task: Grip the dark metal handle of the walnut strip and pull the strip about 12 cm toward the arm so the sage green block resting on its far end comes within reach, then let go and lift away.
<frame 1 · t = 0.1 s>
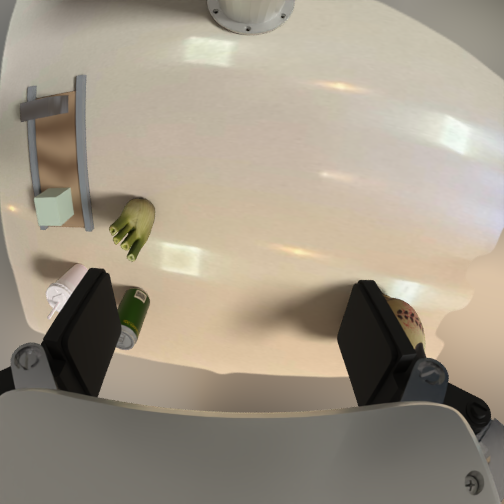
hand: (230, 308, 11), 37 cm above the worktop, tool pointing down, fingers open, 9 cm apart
beer can: (138, 296, 56), on the worktop
fennel bulb: (144, 210, 48), on the worktop
strip: (48, 167, 39), point 3 cm above the worktop, slide at 0.0 cm, touching block
ceramic jug: (375, 308, 60), on the worktop
block: (61, 201, 45), point 1 cm above the worktop, touching strip
lane rails: (58, 156, 41), on the worktop
smoothie: (81, 271, 53), on the worktop
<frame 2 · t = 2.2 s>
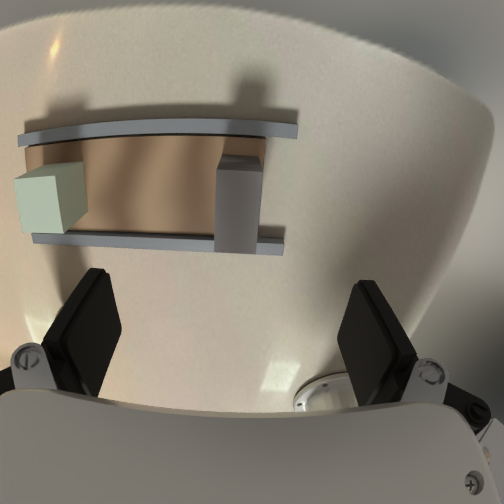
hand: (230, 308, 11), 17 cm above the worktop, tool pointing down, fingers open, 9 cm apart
strip: (116, 195, 23), point 3 cm above the worktop, slide at 0.0 cm, touching block
block: (64, 187, 25), point 1 cm above the worktop, touching strip
lane rails: (139, 184, 26), on the worktop
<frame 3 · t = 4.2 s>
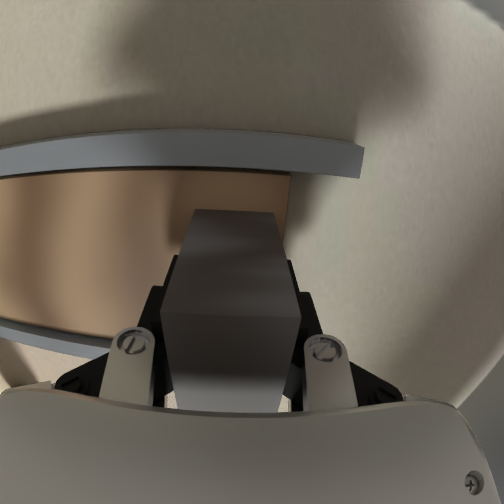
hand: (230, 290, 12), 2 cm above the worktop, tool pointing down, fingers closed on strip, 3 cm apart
strip: (8, 295, 10), point 3 cm above the worktop, slide at 0.0 cm, touching block, gripper
lane rails: (56, 258, 13), on the worktop
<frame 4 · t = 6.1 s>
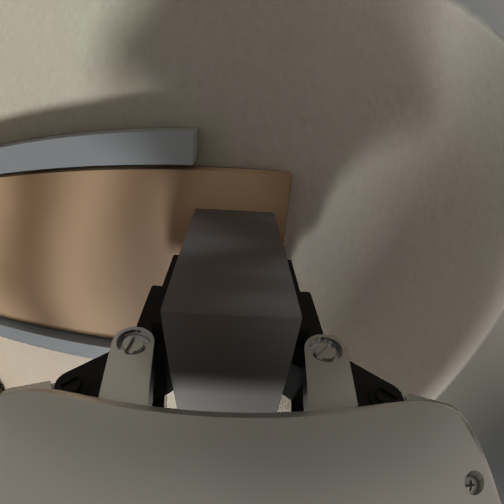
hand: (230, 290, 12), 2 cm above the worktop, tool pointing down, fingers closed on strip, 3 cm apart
strip: (7, 293, 10), point 3 cm above the worktop, slide at 6.1 cm, touching block, gripper
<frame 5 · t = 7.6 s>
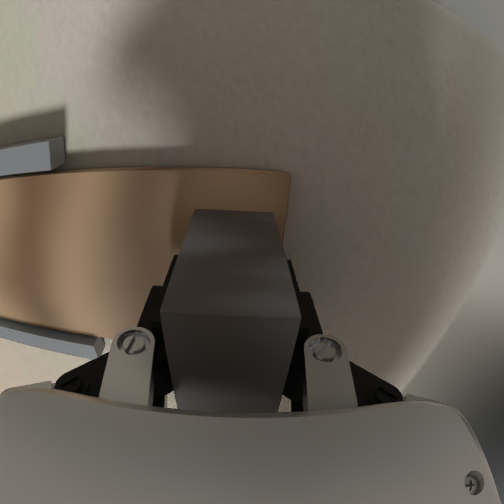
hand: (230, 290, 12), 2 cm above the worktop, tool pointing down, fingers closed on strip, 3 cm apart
strip: (8, 295, 10), point 3 cm above the worktop, slide at 12.0 cm, touching block, gripper
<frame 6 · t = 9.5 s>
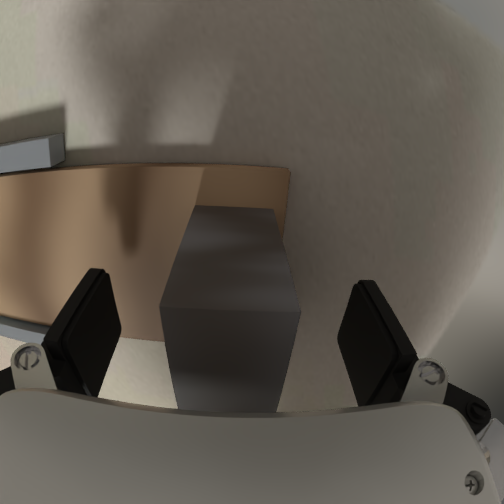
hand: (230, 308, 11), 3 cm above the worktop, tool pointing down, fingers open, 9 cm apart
strip: (8, 292, 10), point 3 cm above the worktop, slide at 12.0 cm, touching block
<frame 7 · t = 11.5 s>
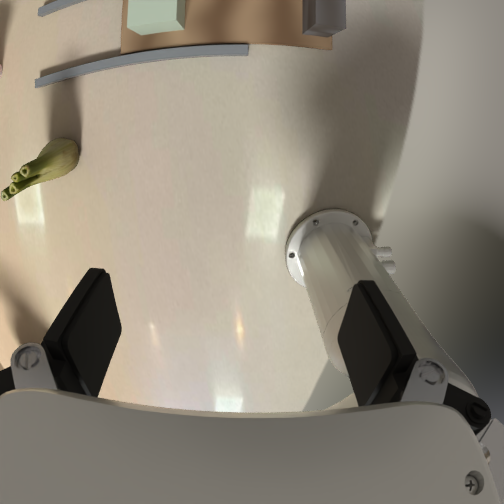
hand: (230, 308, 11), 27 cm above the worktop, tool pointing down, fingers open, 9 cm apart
fennel bulb: (67, 153, 32), on the worktop
strip: (224, 1, 22), point 3 cm above the worktop, slide at 12.0 cm, touching block
block: (163, 13, 24), point 1 cm above the worktop, touching strip
lane rails: (131, 20, 25), on the worktop
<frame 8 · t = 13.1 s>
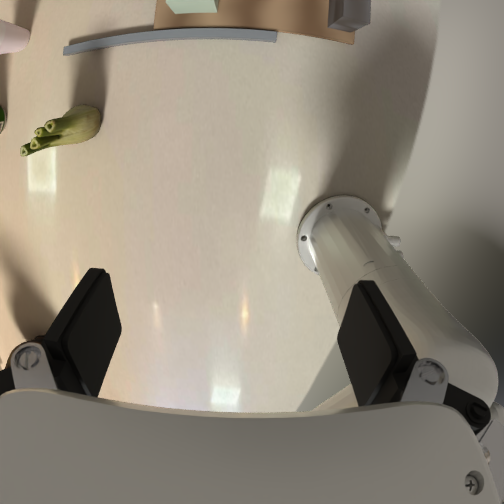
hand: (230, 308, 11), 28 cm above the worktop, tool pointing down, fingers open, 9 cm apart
fennel bulb: (87, 121, 32), on the worktop
smoothie: (22, 40, 24), on the worktop
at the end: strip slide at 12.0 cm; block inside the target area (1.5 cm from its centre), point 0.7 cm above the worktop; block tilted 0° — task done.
